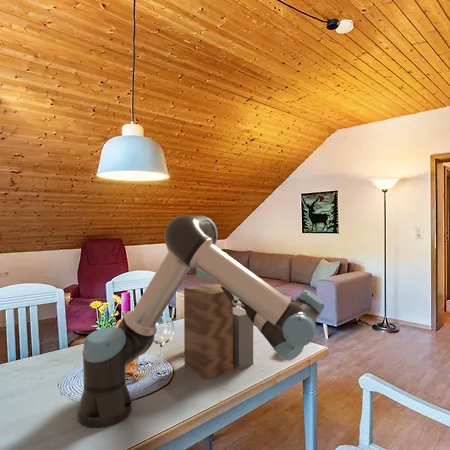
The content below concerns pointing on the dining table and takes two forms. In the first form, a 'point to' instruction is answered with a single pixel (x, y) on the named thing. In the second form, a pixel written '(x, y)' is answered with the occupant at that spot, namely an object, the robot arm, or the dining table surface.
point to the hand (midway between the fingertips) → (223, 269)
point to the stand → (208, 330)
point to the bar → (202, 275)
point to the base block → (242, 339)
